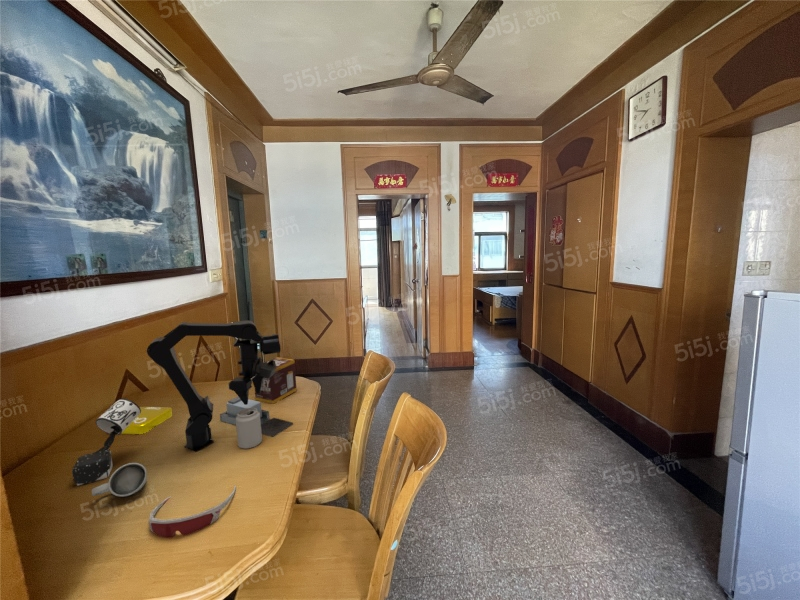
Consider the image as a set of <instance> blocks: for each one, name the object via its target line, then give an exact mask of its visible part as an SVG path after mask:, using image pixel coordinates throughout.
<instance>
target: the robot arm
mask: <svg viewBox="0 0 800 600" xmlns="http://www.w3.org/2000/svg"><path fill="white" fill-rule="evenodd" d="M188 336H189V337H190V336H191V337H195V336H196V337H200V336H201V337H203V336H205V337H211V336H212V337H214V336H215V337H216V336H217V337H221V336H223V337H232V338H236V340H235V341H233V347H234V348H236V347H239V357H240V359H239V360H238V361H237V364H238V365H240V370H241V371H240V372H239V373H238V376H237V377H235V378H233V379H232V380H231V381H230V382H228V383H227V384H228V390H230V391H233V392H234V393H235V394H236V395H237V397H238V396H239V398H240V399H241V401H242V402H243V403H244V405H247V404H248V399H249V394H250V392H249V391H250V389H251V388H253V387H254V391H255V390H256V392H257V393H260V391H261V387H262V383H263V379H264V377H265V378H270V377H271V376H272V375H274V371H275V370H276V369H277V367H276V363H275V361H274V360H272V359H269V360H268V361H269V362H268V363H267V361H262V360H263V359H262V357H261V356H260V357H259V352H260V353H262V354H263V355H264V356H266V355H272V354H279V353H281V351H282V350H281V344H280V339H279V334H277V333H274V334H269V335H262V333H261V332H259V331H258V329H257V327H256V325H255V323H254V322H253V321H251V320H245V319H244V320H239V321H234V322H229V323H217V322H216V323H215V322H214V323H211V322H210V323H209V322H208V323H207V322H202V323H201V322H186V321H184V322H180V323H179V324H178V325H177V326H176V327H175V328H173V329H172V330H170V331H169V332H167V333H166V334H165V335H164V336H159V337H156V338H154V339H153V340H152V341H151V343H150V344H149V345H148V346H147V348H146V353H147V356H148V357H149V358H150V359H151V360H152V361H153V362H154V363H155V364H157V365H158V366H159V367H160V368H162V369H163V370H164V372H166V374H167V376H168V377H169V379H170V380H171V382H172V384H173V385H174V386H175V389H177V391H178V392H179V394H180V396H181V397H182V399H183V401H184V402H185V403H186V406H187V410H188V414H189V418H188V419H187V423H186V425H185V430H184V432H185V433H184V434H185V440H186V445H184V446H183V448H185V449H187V450H190V451H192V452H195V453H196V452H199V451H201V450H203V449H205V448H206V447H208V446H210V445H212V444H214V442H215V440H213V439H212V428H211V427H210V423H211V422H212V419H213V415H214V413H213V412H214V403H213V402H211V401H210V398H209V396H208V395H206V396H205V397H203V396H202V395H200V394H199V392H198V390H197V389H196V387H195V386H194V384H193V382H192V381H191V380H190V378H189V376H188V374H187V373H186V371H185V370H184V369H183V367H182V365H181V364H180V362H179V360H178V357H177V353H176V350H175V346H176V345H177V344H178V343H180V341H182V340H183V339H184V338H185V337H188ZM258 347H259V351H258ZM239 376H240V377H239Z"/></svg>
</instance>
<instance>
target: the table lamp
mask: <svg viewBox="0 0 800 600" xmlns="http://www.w3.org/2000/svg"><path fill="white" fill-rule="evenodd" d="M140 407H141V406H139V405H138V403H135V402H134V401H133V400H130V399H128V398H118V400H117V401H115V402H114V403H113V404H112V405H111V406H110V407H108V409H107V410H105V411H104V413H102V414H101V415H100V416H98V418H97V419H96V420H95V425H96V426H97V427H98V429H99V430H101V431H102V432H105V433H107V434H109V436H108V437H107V438H106V440H105V441H104V444H103V446H102V447H101V448H100V449H98V450H96V451H94V452H92V453H87V454H84V455H81V456H80V457H78V458H77V461H76V462H75V464H74V465H73V466H72V471H71V474H72V478H73V483H74V484H76V486H77V487H78V486H82V485H88V484H90V483H95V482H96V481H99V480H100V481H101V480H103V479H107V478H109V477H110V474H111V471H112V469H113V465H114V463H113V457H112V451H111V446H112V445H113V443H114V441H115V439H116V438H115V437H116V436H119V435H122V434H121V433H122V432H123V431H124V430H125V429H126V428H127V427H128V425H129V424H130V423H131V422H132V421H133V420H134V419H135V418H136V417H137V416H138V415H139V414H140V413H141V409H140Z"/></svg>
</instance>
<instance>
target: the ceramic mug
mask: <svg viewBox="0 0 800 600" xmlns="http://www.w3.org/2000/svg"><path fill="white" fill-rule="evenodd" d="M147 475H148V471H147V468H146V466H144V465H143V464H141V463H139V462H129V463H126V464H124V465H121V466H119V467H118V468H117V469H116V470H114V472H113V473H112V474H111V476H109V477H110V478H109V480H108V482H105V483H103V484H100V485H98V486H96V487H93V488H92V489H91V496H92V497H94V496H99V495H103V494H106V493H111V494H112V495H113V496H116V497H120V498H121V497H122V498H123V497H129V496H132V495H134V494H136V493H137V492H139V491H140V490H142V489H143V487H144V486H145V484H146V483H147V479H148V476H147Z"/></svg>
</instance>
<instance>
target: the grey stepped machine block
mask: <svg viewBox="0 0 800 600" xmlns="http://www.w3.org/2000/svg"><path fill="white" fill-rule="evenodd" d="M246 408H256V409H257V410H258V412H259V413H260V418H261V417H262V410H263V409H262V402H261V401H257V400H253V399H249V398H248V404H247V405H244V403H243V402H242V401H241V399H240V398H239V396H238V395H237V396H236V397H234V398H231V399H229V400H227V402H226V411H227V414H228V415H231V416H235V417H237V416H238V415H237V413H238V412H239V411H241V410H243V409H246Z"/></svg>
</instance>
